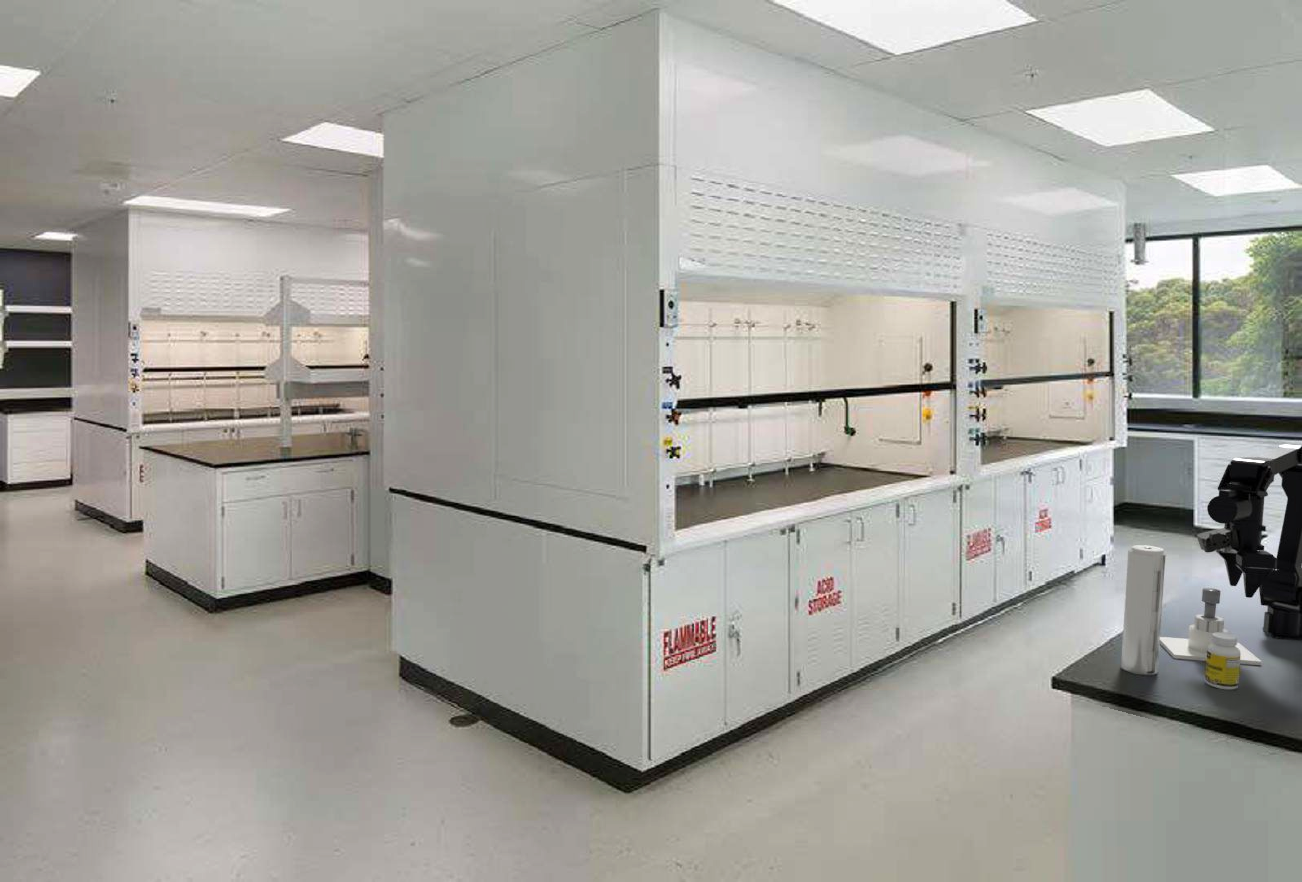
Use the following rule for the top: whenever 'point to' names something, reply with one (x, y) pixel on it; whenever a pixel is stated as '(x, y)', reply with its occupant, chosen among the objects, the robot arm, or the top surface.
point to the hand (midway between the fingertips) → (1240, 591)
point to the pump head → (1210, 601)
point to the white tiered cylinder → (1204, 632)
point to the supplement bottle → (1223, 662)
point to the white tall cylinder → (1143, 609)
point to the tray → (1182, 651)
